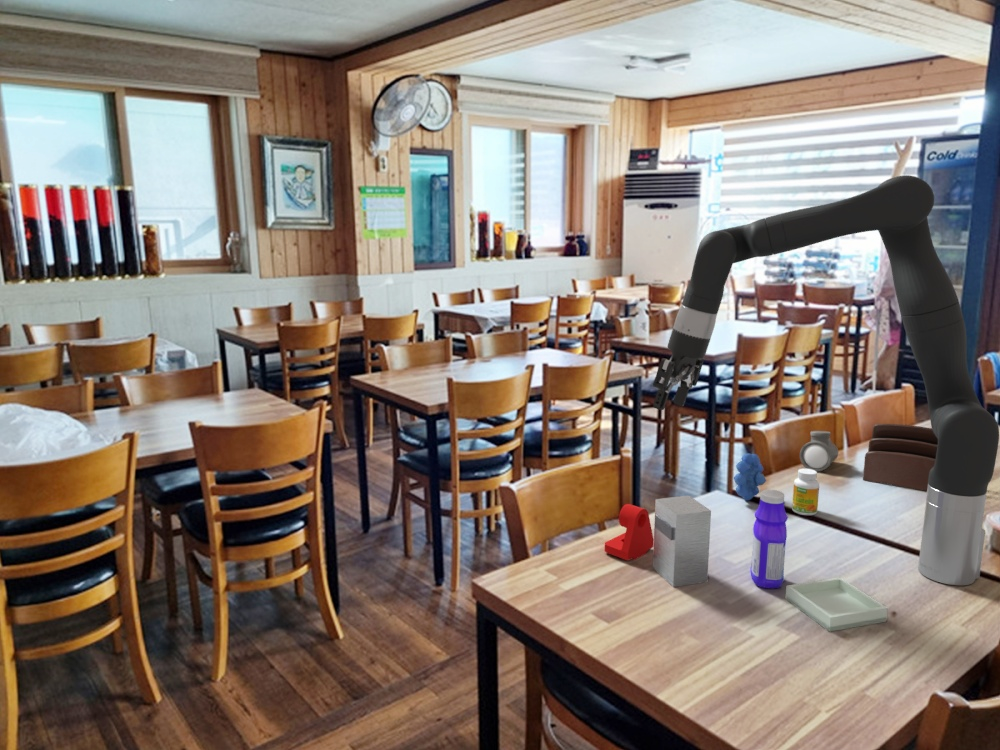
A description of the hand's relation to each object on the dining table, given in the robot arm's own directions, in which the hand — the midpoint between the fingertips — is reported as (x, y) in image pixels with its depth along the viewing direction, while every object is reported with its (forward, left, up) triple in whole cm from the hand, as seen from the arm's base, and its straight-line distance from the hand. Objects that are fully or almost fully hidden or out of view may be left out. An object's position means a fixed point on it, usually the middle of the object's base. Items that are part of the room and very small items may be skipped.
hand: (668, 406), depth 150 cm
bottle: (-9, +23, -29) cm, 38 cm away
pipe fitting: (-64, -31, -29) cm, 76 cm away
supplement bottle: (-38, -4, -29) cm, 48 cm away
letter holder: (-76, -13, -29) cm, 83 cm away
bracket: (+10, +4, -29) cm, 31 cm away
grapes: (-30, -13, -29) cm, 44 cm away
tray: (-14, +35, -29) cm, 47 cm away
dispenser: (+5, +16, -29) cm, 33 cm away
